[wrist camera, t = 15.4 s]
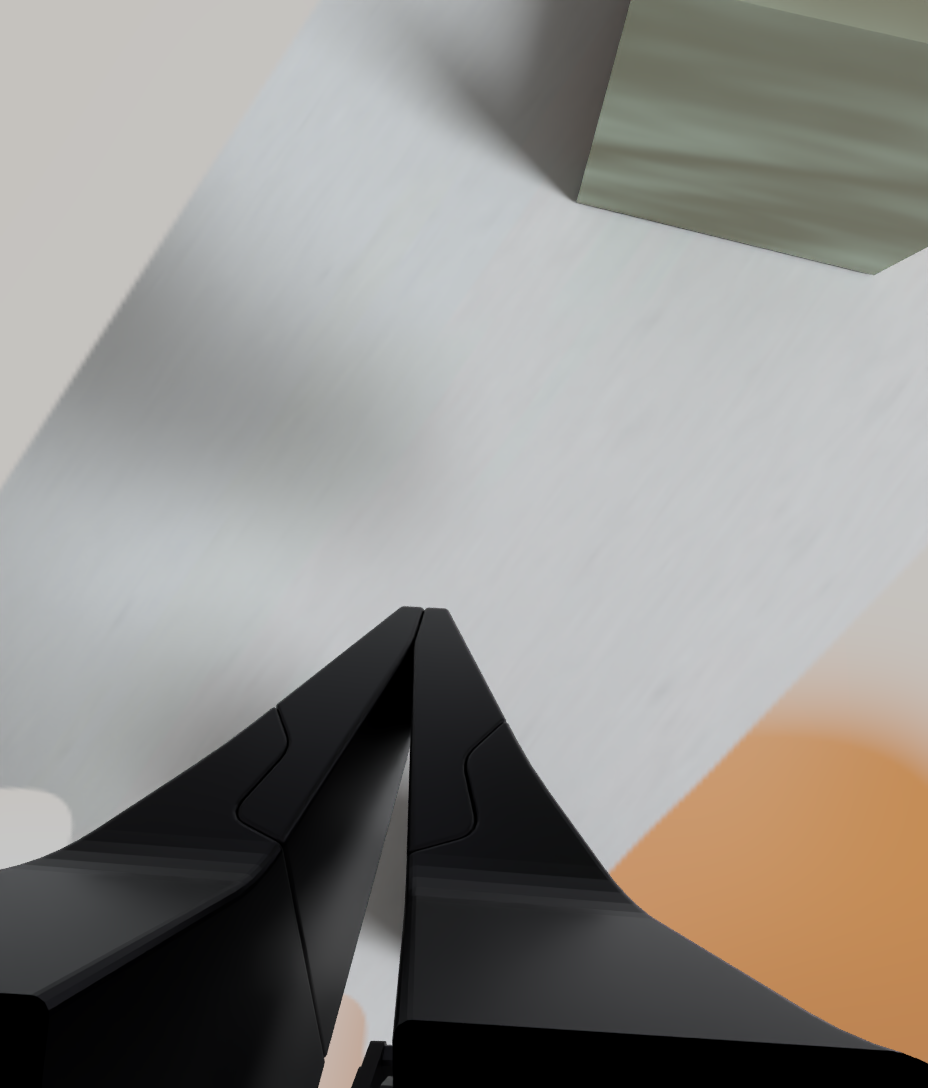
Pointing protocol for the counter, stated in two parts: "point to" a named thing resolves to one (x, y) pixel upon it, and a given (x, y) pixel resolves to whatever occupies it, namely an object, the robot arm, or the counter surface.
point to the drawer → (772, 125)
